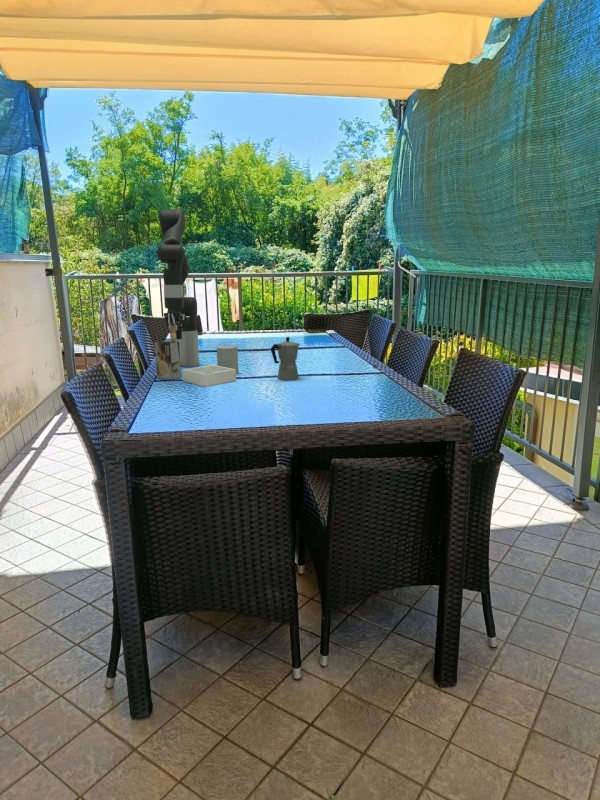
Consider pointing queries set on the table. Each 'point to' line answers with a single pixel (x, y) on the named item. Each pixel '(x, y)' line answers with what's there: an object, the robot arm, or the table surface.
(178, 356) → the coffee box
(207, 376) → the box
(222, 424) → the table surface
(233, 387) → the table surface
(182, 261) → the robot arm
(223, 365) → the gray cylinder
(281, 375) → the coffeepot
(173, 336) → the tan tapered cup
